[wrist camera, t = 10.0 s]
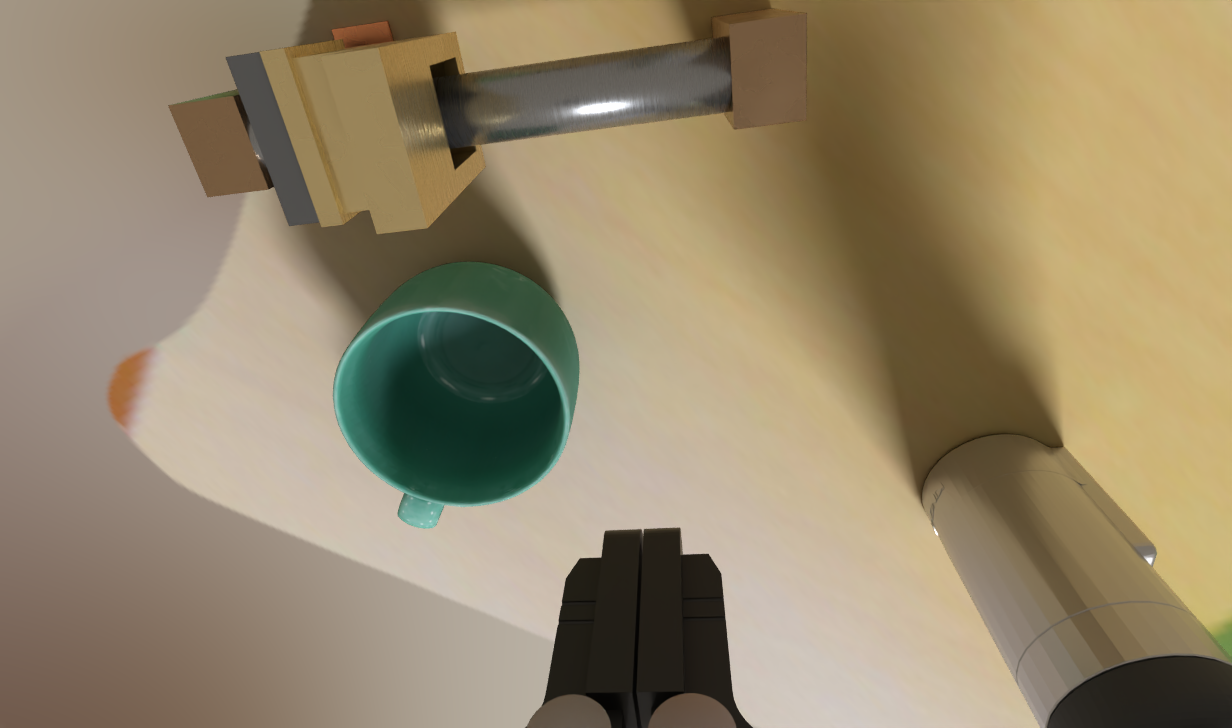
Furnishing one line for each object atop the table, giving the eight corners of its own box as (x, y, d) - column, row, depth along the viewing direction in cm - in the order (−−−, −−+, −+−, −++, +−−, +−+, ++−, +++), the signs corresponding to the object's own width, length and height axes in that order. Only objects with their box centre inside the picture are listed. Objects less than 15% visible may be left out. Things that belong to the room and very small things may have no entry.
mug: (432, 204, 39) (373, 261, 31) (620, 300, 42) (613, 376, 33) (349, 410, 47) (285, 500, 38) (514, 481, 49) (486, 580, 41)
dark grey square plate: (342, 39, 33) (272, 50, 27) (385, 182, 36) (331, 221, 30) (304, 45, 33) (225, 57, 27) (349, 186, 36) (289, 226, 30)
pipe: (771, -38, 32) (806, -47, 25) (773, 132, 36) (806, 168, 29) (252, 41, 35) (146, 54, 28) (306, 192, 39) (225, 238, 32)
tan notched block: (453, 22, 31) (373, 34, 22) (487, 174, 34) (430, 238, 25) (330, 40, 31) (204, 60, 23) (375, 188, 35) (281, 256, 26)
